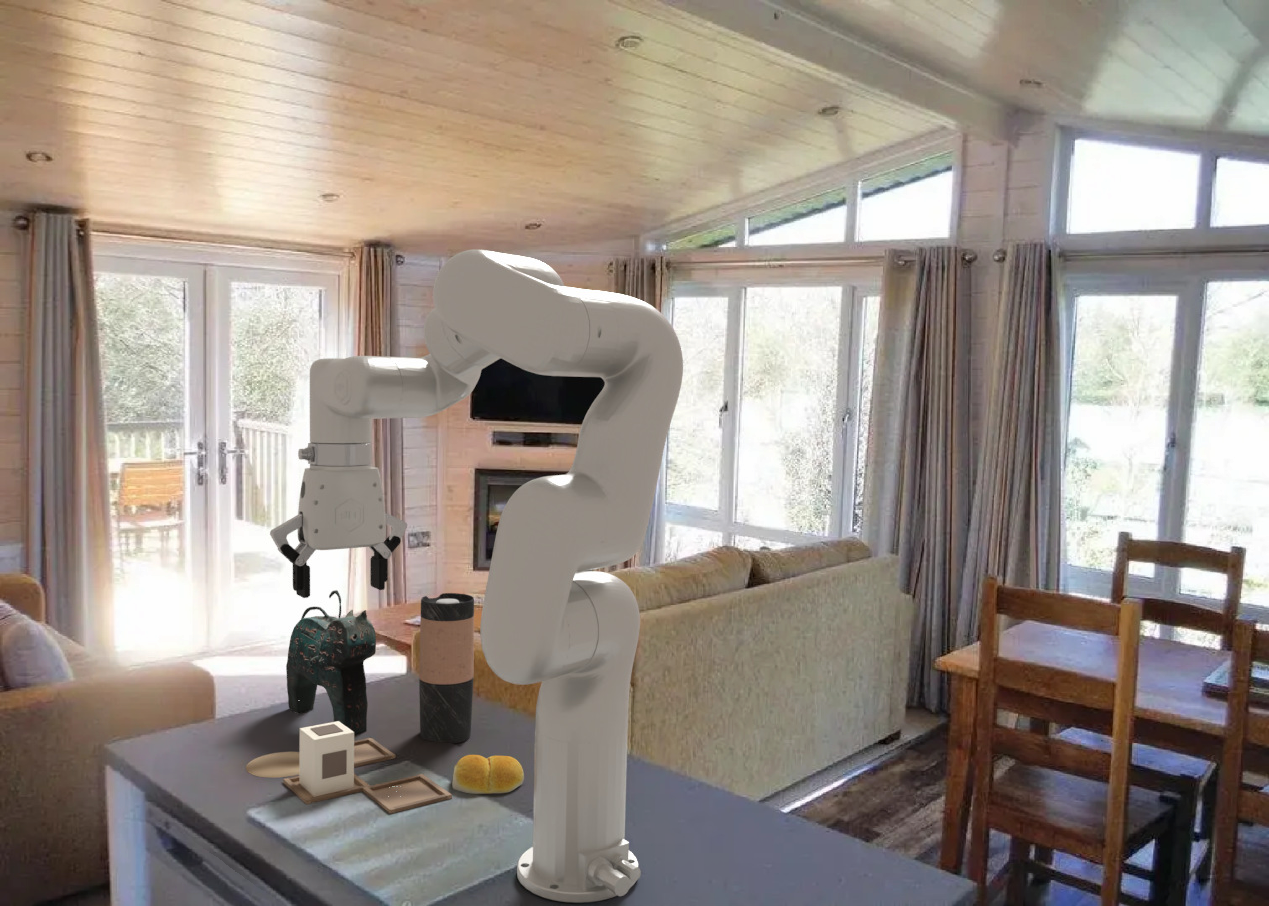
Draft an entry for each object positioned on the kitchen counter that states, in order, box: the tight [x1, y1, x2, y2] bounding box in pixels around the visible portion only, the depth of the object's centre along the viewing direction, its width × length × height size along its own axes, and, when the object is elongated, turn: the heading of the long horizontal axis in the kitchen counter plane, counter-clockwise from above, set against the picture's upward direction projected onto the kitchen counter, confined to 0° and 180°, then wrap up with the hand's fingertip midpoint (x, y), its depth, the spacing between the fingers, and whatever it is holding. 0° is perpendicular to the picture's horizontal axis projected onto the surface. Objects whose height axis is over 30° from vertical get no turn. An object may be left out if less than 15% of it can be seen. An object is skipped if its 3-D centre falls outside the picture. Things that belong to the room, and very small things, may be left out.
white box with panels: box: [298, 721, 355, 797], centre depth 127 cm, size 5×5×7 cm
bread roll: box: [451, 754, 525, 795], centre depth 130 cm, size 8×9×4 cm
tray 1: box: [282, 772, 371, 805], centre depth 127 cm, size 8×8×1 cm
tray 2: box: [354, 737, 397, 768], centre depth 138 cm, size 8×8×1 cm
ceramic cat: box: [285, 589, 377, 735], centre depth 151 cm, size 20×6×20 cm, turn 45°
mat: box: [245, 751, 300, 779], centre depth 134 cm, size 9×9×1 cm
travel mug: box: [418, 592, 475, 745], centre depth 146 cm, size 8×8×20 cm
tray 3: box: [362, 773, 453, 814], centre depth 125 cm, size 8×8×1 cm
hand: (341, 592), depth 130 cm, fingers open, 9 cm apart
